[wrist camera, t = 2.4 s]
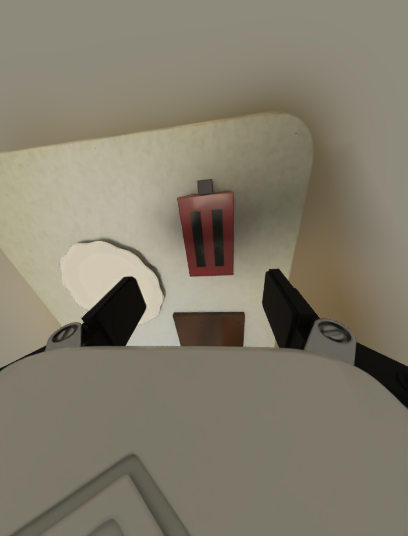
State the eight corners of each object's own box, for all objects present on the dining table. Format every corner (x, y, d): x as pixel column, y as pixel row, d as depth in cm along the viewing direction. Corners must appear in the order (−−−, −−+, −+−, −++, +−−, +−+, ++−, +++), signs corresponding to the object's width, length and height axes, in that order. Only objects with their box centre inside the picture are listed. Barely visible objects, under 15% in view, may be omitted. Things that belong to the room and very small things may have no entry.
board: (244, 312, 32) (244, 315, 31) (242, 350, 39) (242, 354, 38) (173, 312, 34) (172, 315, 33) (183, 349, 41) (182, 352, 40)
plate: (153, 329, 38) (151, 335, 36) (70, 302, 35) (64, 307, 34) (177, 265, 28) (174, 269, 26) (63, 220, 25) (54, 222, 24)
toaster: (229, 179, 20) (233, 175, 14) (229, 254, 26) (233, 275, 20) (187, 184, 21) (174, 182, 15) (196, 256, 26) (189, 277, 20)
